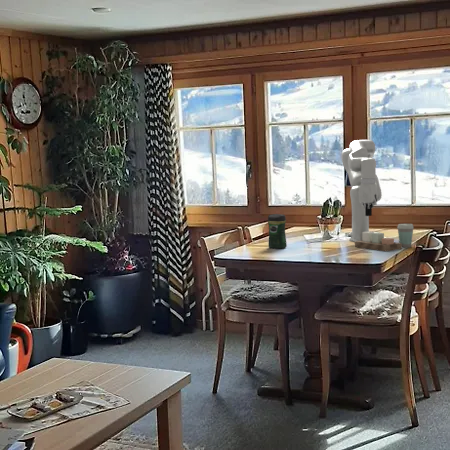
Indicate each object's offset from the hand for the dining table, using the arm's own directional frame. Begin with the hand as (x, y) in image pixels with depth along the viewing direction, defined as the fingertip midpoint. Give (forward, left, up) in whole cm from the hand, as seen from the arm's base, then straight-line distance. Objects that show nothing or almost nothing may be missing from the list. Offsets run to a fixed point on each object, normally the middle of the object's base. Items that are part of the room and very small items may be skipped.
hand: (368, 215), depth 360 cm
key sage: (+7, 0, -14) cm, 16 cm away
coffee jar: (-31, -38, -17) cm, 52 cm away
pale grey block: (0, 0, -14) cm, 14 cm away
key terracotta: (+14, 0, -16) cm, 21 cm away
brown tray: (+7, 0, -17) cm, 18 cm away
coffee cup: (+14, +13, -17) cm, 26 cm away
